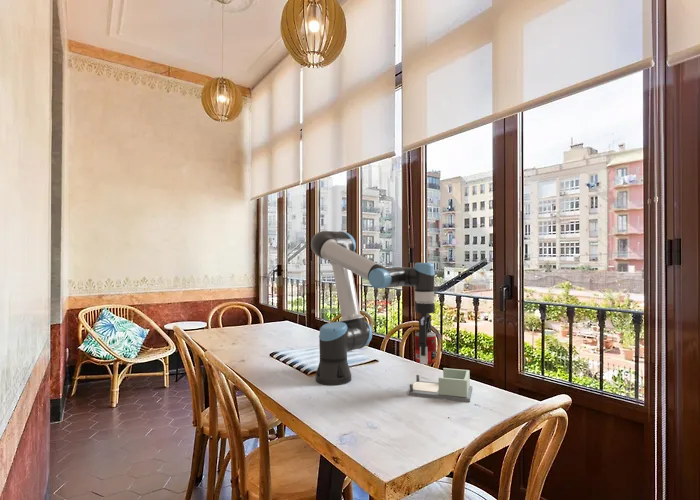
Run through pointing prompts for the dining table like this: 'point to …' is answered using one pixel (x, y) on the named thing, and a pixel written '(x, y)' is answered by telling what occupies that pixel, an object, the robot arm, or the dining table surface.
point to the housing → (454, 382)
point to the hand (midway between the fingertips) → (425, 361)
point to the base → (434, 391)
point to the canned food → (430, 348)
